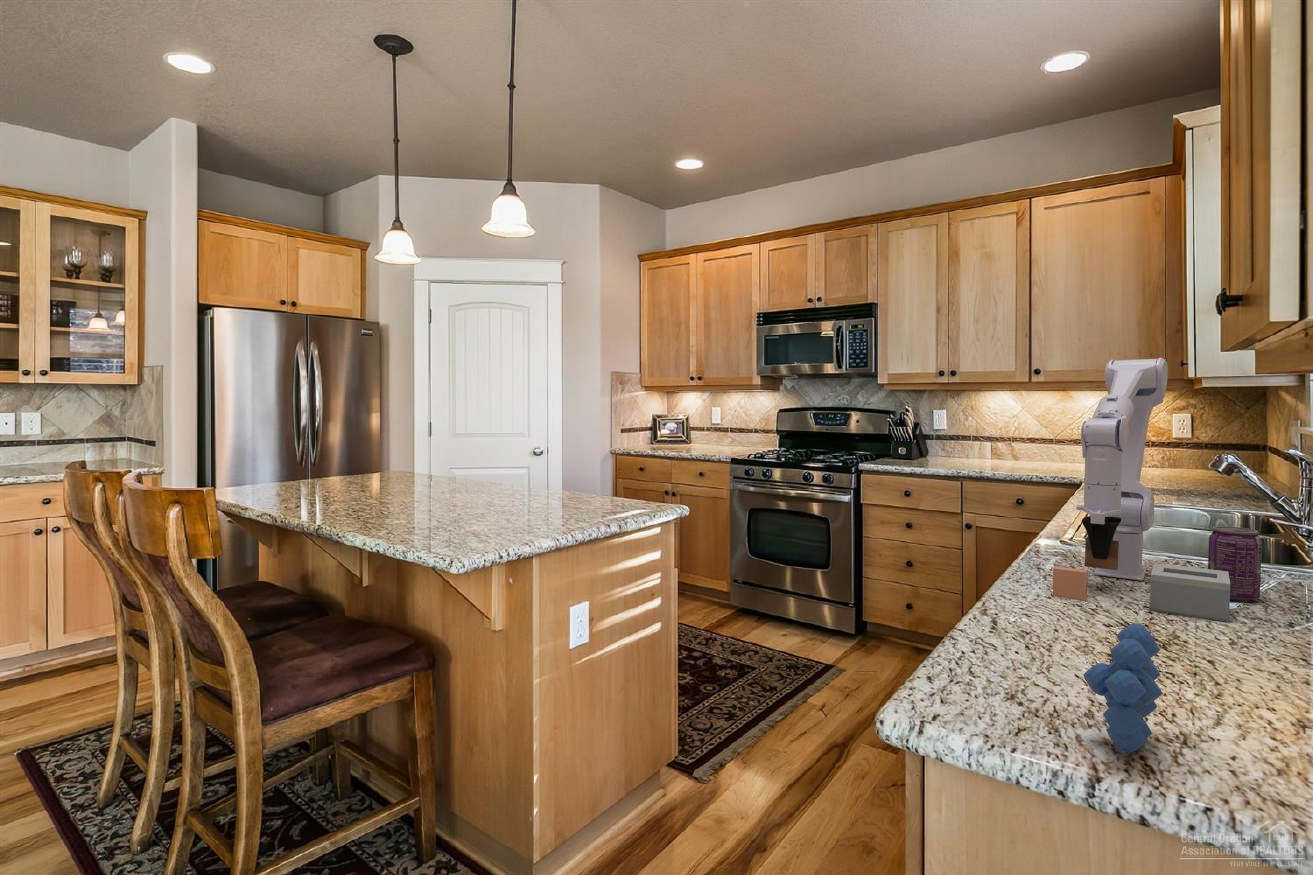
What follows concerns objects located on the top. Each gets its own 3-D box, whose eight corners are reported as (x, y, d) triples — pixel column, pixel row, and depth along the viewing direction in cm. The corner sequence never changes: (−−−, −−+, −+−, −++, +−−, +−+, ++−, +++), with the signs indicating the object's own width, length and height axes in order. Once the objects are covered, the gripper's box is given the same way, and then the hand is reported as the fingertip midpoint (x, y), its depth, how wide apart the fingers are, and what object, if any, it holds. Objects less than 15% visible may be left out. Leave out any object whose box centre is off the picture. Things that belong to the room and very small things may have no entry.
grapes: (1094, 711, 76) (1097, 605, 76) (1169, 731, 72) (1173, 618, 71) (1066, 750, 68) (1070, 631, 67) (1150, 775, 63) (1154, 647, 63)
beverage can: (1239, 592, 123) (1242, 526, 123) (1270, 603, 116) (1273, 533, 116) (1197, 591, 124) (1199, 525, 123) (1225, 602, 117) (1228, 532, 116)
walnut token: (1086, 564, 129) (1086, 537, 128) (1118, 568, 125) (1118, 541, 125) (1084, 566, 127) (1085, 539, 127) (1117, 570, 124) (1118, 542, 124)
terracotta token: (1054, 593, 123) (1055, 566, 123) (1087, 598, 120) (1087, 570, 120) (1052, 596, 122) (1053, 568, 121) (1085, 601, 118) (1086, 572, 118)
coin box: (1152, 596, 121) (1154, 562, 120) (1226, 606, 114) (1228, 571, 114) (1149, 610, 113) (1151, 574, 113) (1228, 622, 107) (1230, 584, 106)
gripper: (1082, 478, 134) (1080, 547, 134) (1071, 486, 122) (1069, 561, 123) (1126, 480, 129) (1124, 551, 130) (1119, 489, 118) (1117, 567, 119)
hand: (1100, 557), depth 126 cm, fingers closed on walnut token, 2 cm apart
